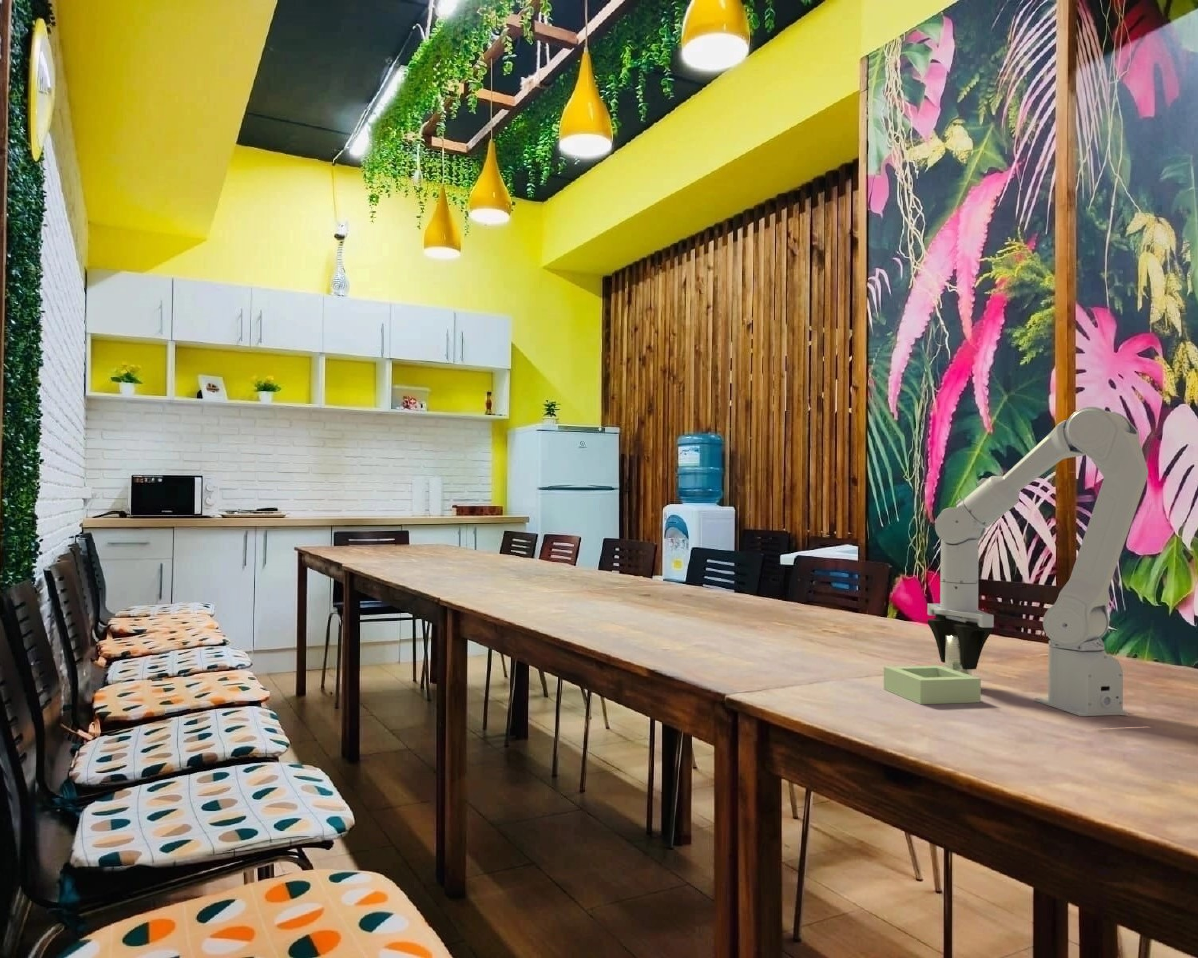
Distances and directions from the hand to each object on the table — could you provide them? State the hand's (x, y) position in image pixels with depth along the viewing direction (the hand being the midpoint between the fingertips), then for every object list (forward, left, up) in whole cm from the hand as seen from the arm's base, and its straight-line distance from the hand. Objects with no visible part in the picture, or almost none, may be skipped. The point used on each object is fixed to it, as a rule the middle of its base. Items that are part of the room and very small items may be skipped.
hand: (958, 665), depth 138 cm
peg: (0, 0, -3) cm, 3 cm away
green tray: (-6, +9, -3) cm, 11 cm away
